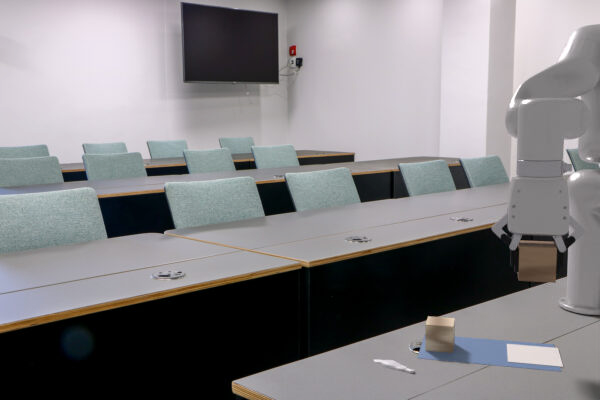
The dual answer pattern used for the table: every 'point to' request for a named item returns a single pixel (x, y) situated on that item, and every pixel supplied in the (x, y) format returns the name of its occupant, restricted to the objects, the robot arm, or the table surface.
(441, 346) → the maple cube
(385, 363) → the stylus pen
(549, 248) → the walnut cube
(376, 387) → the table surface
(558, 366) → the board
